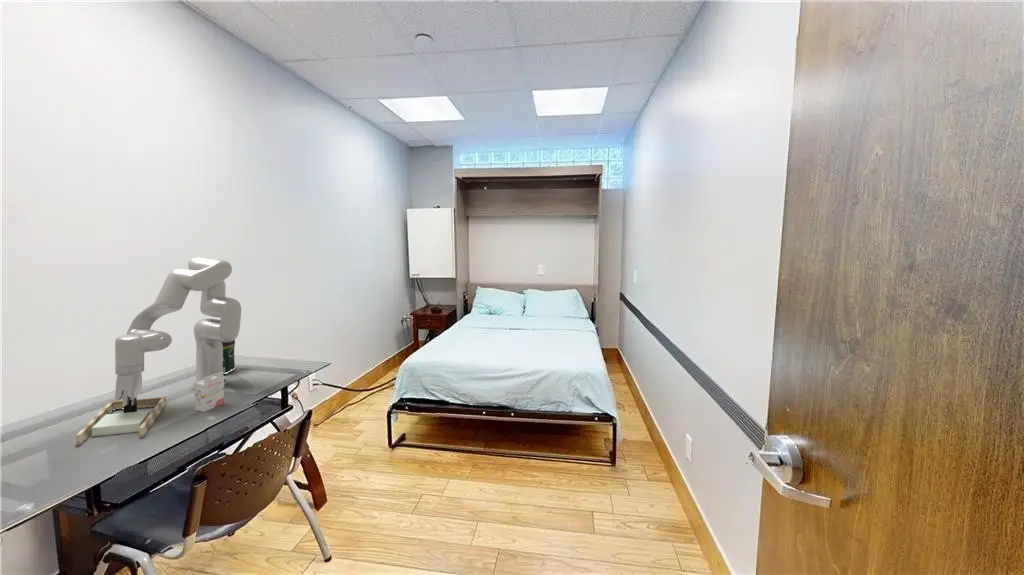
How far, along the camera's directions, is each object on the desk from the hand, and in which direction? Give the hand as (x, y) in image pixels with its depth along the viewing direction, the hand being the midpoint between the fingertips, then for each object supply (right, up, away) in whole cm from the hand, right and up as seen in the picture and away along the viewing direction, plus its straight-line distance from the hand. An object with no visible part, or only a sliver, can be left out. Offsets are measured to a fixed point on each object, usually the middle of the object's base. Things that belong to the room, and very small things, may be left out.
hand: (130, 414), depth 140 cm
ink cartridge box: (+18, -2, +14) cm, 23 cm away
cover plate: (+4, -3, -6) cm, 8 cm away
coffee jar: (-2, +5, +48) cm, 48 cm away
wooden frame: (+2, -2, -4) cm, 5 cm away
